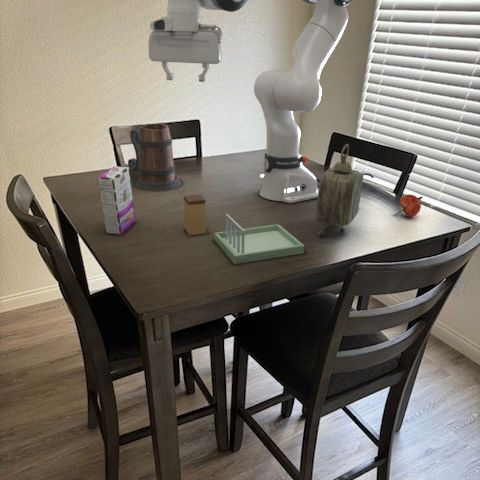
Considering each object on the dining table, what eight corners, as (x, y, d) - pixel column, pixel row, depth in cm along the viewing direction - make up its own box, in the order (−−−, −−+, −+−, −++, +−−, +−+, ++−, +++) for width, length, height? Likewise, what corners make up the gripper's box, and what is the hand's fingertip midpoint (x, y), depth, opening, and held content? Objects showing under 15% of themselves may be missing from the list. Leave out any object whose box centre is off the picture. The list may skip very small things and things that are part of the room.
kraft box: (200, 227, 143) (200, 194, 138) (206, 233, 139) (205, 199, 134) (185, 229, 141) (183, 196, 136) (189, 235, 138) (188, 201, 132)
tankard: (190, 182, 179) (188, 126, 168) (157, 193, 168) (152, 133, 157) (147, 170, 191) (143, 117, 180) (114, 180, 180) (107, 123, 169)
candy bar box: (120, 219, 147) (113, 165, 138) (135, 221, 146) (130, 166, 137) (104, 233, 137) (96, 176, 129) (121, 235, 137) (113, 178, 128)
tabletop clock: (327, 221, 149) (338, 137, 136) (356, 226, 146) (370, 141, 132) (313, 237, 138) (323, 148, 125) (343, 243, 135) (357, 152, 121)
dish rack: (277, 231, 142) (279, 204, 137) (303, 253, 129) (306, 224, 125) (214, 240, 135) (213, 212, 131) (234, 264, 123) (235, 234, 118)
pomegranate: (400, 227, 152) (430, 210, 149) (389, 207, 150) (419, 190, 147) (397, 221, 159) (426, 204, 155) (387, 202, 157) (415, 185, 153)
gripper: (224, 24, 130) (224, 81, 137) (152, 22, 133) (155, 77, 140) (219, 25, 124) (219, 83, 132) (144, 22, 127) (148, 80, 135)
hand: (186, 80), depth 136 cm, fingers open, 8 cm apart
